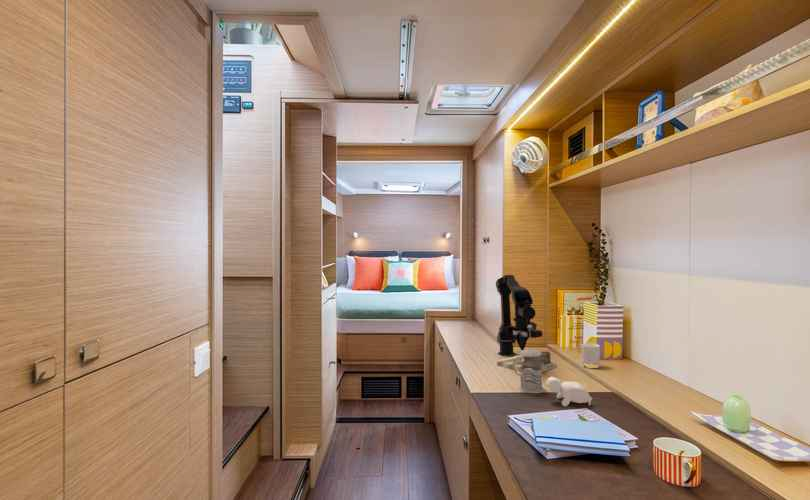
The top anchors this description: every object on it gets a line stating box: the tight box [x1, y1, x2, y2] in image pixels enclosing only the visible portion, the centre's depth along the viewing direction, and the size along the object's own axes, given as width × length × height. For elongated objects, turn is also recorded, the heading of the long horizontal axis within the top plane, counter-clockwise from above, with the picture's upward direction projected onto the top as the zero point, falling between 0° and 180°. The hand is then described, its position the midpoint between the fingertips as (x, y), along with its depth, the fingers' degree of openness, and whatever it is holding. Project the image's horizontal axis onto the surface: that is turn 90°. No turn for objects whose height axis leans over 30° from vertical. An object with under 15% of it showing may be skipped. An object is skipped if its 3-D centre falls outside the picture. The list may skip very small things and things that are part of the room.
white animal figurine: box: [545, 376, 593, 407], centre depth 139 cm, size 9×8×15 cm
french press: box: [513, 325, 546, 394], centre depth 153 cm, size 10×12×25 cm
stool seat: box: [496, 354, 558, 373], centre depth 184 cm, size 20×18×6 cm
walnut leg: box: [524, 351, 551, 363], centre depth 180 cm, size 16×4×4 cm, turn 125°
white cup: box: [580, 342, 601, 365], centre depth 181 cm, size 8×8×10 cm
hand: (522, 349), depth 182 cm, fingers closed
